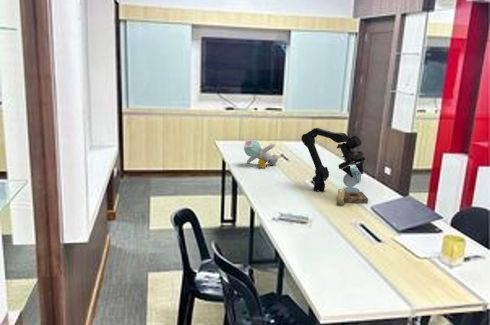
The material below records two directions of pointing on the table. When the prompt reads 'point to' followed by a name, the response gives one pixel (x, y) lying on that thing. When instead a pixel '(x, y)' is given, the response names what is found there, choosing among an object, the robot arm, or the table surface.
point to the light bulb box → (356, 172)
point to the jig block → (355, 197)
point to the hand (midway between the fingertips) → (357, 175)
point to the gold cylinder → (340, 197)
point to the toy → (259, 153)
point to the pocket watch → (350, 183)
